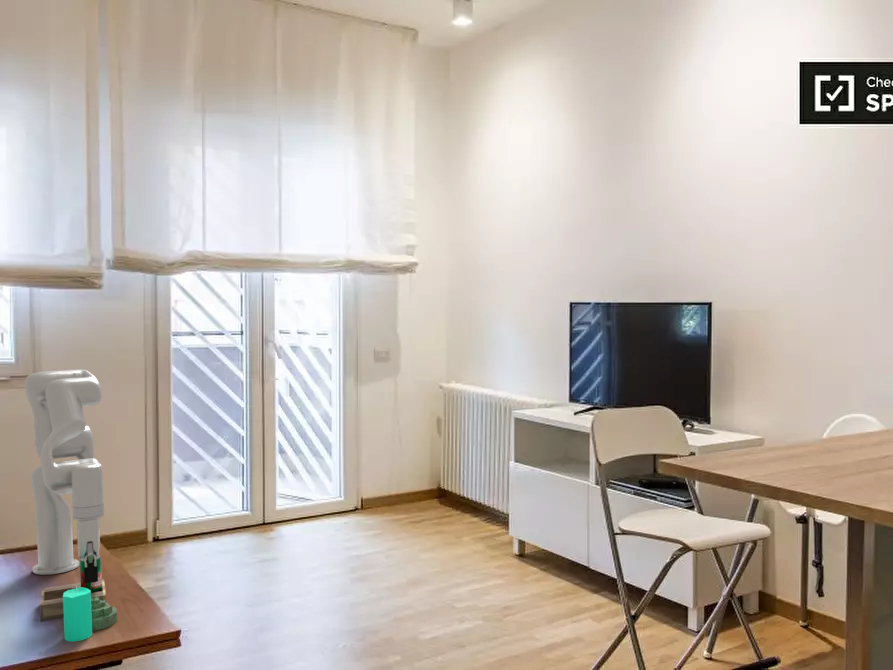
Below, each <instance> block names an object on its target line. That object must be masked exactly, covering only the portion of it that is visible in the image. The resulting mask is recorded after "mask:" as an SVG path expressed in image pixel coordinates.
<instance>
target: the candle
mask: <svg viewBox="0 0 893 670" xmlns="http://www.w3.org/2000/svg"><path fill="white" fill-rule="evenodd" d="M63 611H64V618H63V629H64V630H63V633H64V634H63V635H64V636H63V637H64V640H65V641H66V642H80V641H84V640H88V639H89V638H90V637H92V636H93V631H92V614H91V590H89V589H87V588H83V587H80V588H77V586H76V589H71V590H68V591H66V592H64V593H63Z"/></svg>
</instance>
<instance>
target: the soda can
mask: <svg viewBox="0 0 893 670" xmlns="http://www.w3.org/2000/svg"><path fill="white" fill-rule="evenodd" d="M96 565H98V581H97V582H91V583H85V582H84V567H85V559H84V557H82V558H81V559H79V577H80V583H81V587H83V588H87V589H89V590H91V593H94V592H100V591H102V580H103V579H102V556H100V554H99V555H98V556H97V557H96Z"/></svg>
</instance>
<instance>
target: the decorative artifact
mask: <svg viewBox="0 0 893 670" xmlns="http://www.w3.org/2000/svg"><path fill="white" fill-rule="evenodd" d="M91 614H92V632H94V631H99V630H102V629H105V628H109V627H111V626H113V625H115V624H116V623H117V622H118V610H117V607H115V606H113V605H110V604H109V602H107V600H106V601H105V600H104V601H102V600H100V599H99V597H96V598H95V595H93V598H92V599H91Z"/></svg>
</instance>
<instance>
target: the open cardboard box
mask: <svg viewBox="0 0 893 670" xmlns="http://www.w3.org/2000/svg"><path fill="white" fill-rule="evenodd" d="M76 586H77V588H80V587H81V582H78V583H72V584H71V583H70V584H64V585H57V586H52V587H44V588H41V594H40V595H41V596H40V602H39V611H40V613H39V614H40V616H39V617H40V622H46V621H52V620H59V619H64V611H63V593H64V592H66V591H68V590H71V589H76ZM106 593H107V592H106V585H105V579H102V591H100V592H94V593H91V599H92V598H93V595H95V598H96V597H99V599H100V600H102V601H104V600H105V601H106V602H107V594H106Z"/></svg>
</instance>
